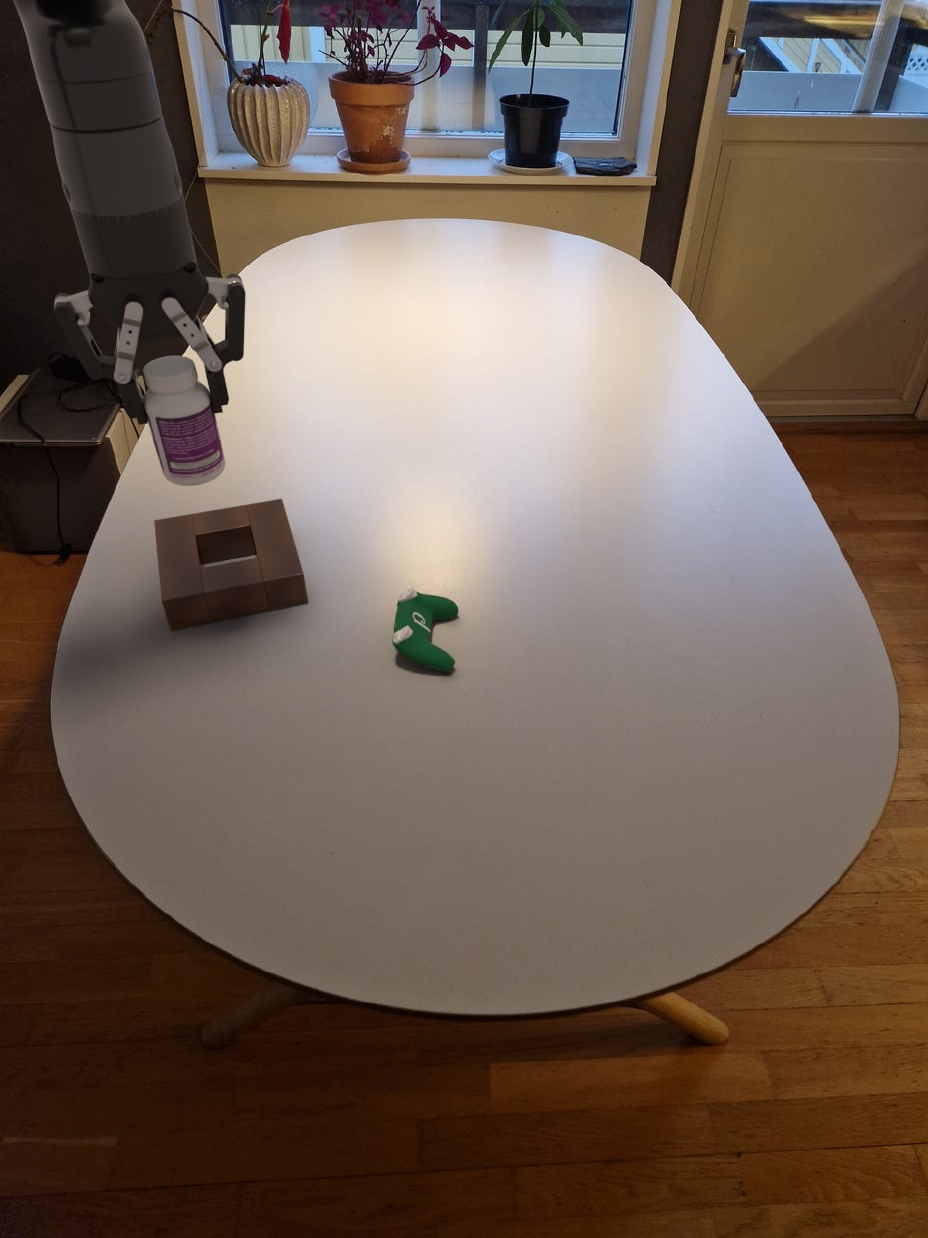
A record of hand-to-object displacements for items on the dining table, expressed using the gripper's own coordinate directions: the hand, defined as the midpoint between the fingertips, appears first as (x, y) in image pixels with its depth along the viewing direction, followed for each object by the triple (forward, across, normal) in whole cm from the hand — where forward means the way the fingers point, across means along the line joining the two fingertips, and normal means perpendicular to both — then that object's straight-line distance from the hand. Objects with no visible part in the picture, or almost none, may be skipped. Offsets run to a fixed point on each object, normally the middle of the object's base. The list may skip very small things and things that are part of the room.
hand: (180, 413), depth 70 cm
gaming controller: (+24, -18, +8) cm, 31 cm away
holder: (+24, -1, -8) cm, 25 cm away
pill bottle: (+6, 0, 0) cm, 6 cm away
